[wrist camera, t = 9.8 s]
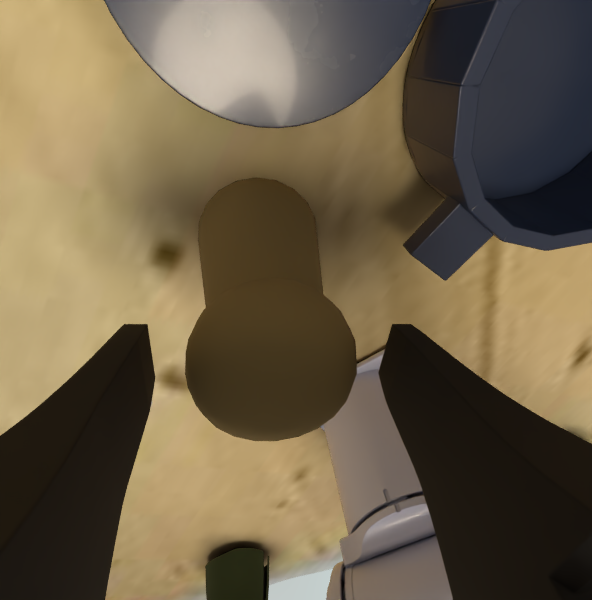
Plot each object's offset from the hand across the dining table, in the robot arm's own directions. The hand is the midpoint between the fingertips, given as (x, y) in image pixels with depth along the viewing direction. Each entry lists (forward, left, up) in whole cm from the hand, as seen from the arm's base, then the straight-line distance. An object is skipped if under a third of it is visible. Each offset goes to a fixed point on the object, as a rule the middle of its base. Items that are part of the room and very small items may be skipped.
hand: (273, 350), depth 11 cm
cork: (0, 0, -10) cm, 10 cm away
